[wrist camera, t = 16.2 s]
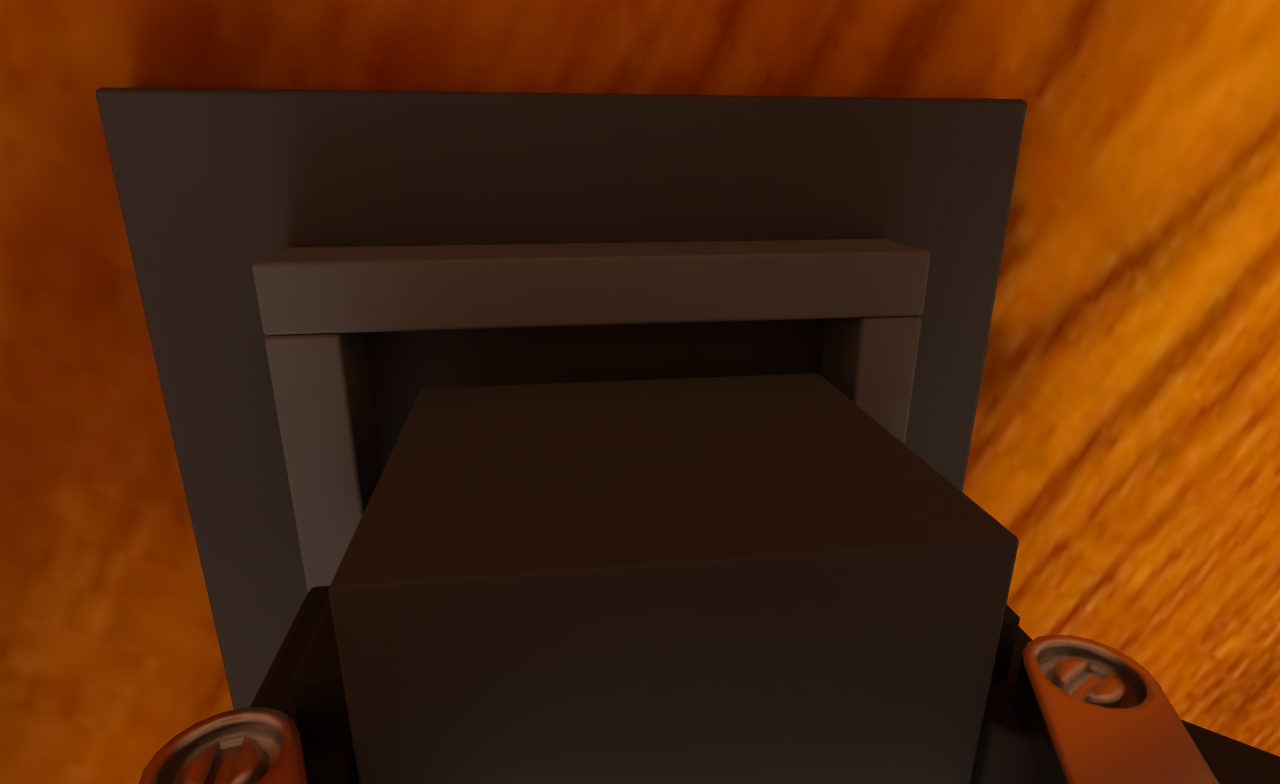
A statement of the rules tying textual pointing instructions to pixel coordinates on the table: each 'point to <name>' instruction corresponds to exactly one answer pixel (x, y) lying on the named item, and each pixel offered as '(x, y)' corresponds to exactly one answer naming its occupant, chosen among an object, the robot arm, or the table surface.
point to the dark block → (666, 592)
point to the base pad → (528, 279)
